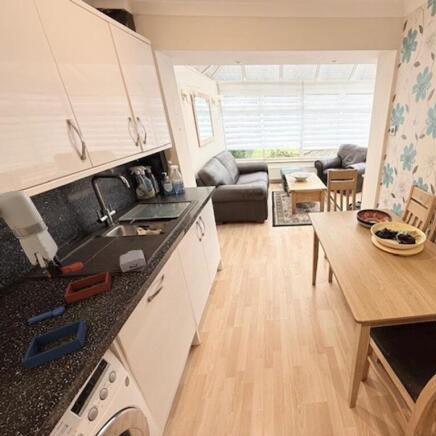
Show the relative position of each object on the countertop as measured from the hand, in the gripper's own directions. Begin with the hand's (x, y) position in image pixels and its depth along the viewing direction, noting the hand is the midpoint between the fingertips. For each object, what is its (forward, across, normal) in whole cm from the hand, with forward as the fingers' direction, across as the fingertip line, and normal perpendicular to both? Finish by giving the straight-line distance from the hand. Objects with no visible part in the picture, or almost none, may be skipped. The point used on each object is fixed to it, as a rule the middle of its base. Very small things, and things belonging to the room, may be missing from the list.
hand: (58, 273), depth 85 cm
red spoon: (0, 0, +2) cm, 2 cm away
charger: (+14, -17, +19) cm, 30 cm away
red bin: (+14, -4, +4) cm, 15 cm away
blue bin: (+14, +23, 0) cm, 27 cm away
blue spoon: (+14, +4, -7) cm, 16 cm away
